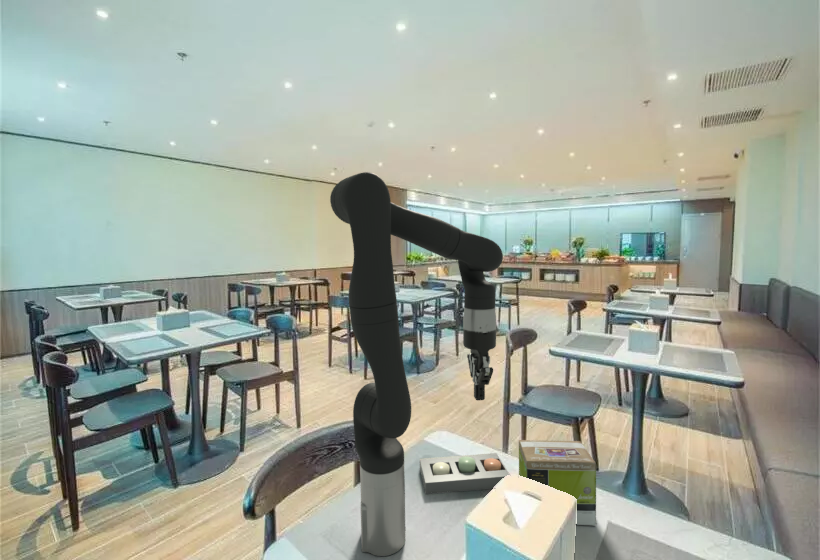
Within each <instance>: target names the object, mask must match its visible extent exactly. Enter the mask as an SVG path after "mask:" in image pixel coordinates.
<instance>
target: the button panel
mask: <svg viewBox="0 0 820 560" xmlns="http://www.w3.org/2000/svg"><path fill="white" fill-rule="evenodd" d="M465 456H467V457H471V458H473V459H474V460H475V472H471V473H460V472H459V459H460V458H461V457H465ZM489 458H493V459H497V460H499V461H500V463H501V470H496V471H485V469H484V461H485V460H486V459H489ZM438 462H444V463H447V464H448V465H449V472H450V474H446V475H433V465H434V464H435V463H438ZM419 471H420V472H419V473H420V475H421V480H422V485H423V489H424V493H425V495H433V494H446V493H456V492H469V491H482V490H493V489H492V488H493V487H494V486H495V485H496V484H497V483H498V482H499V481H500V480H501V479H502V478H504V477H505V476H507V475H510V476H511V474H510V473H509V471H508V469H507V468H506V466H505V464H504V463H503V461H502V459H501V458H500V456H499V454H498V453H497V452H493V453H492V452H491V453H480V454H479V453H478V454H467V455H466V454H465V455H464V454H463V455H452V456H438V457H426V458H419Z"/></svg>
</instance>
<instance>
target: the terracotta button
mask: <svg viewBox="0 0 820 560" xmlns="http://www.w3.org/2000/svg"><path fill="white" fill-rule="evenodd" d="M484 469H485V471H496V470H501V463H500V461H499V460H497V459H493V458H489V459H486V460H485V461H484Z"/></svg>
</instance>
